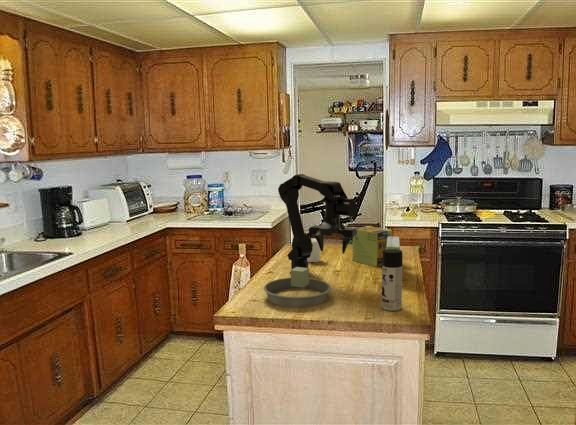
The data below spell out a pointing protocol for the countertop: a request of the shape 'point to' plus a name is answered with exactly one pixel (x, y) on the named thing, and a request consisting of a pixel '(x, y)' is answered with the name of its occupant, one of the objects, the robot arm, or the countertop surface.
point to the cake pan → (288, 301)
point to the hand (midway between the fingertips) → (332, 252)
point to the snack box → (393, 243)
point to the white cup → (314, 252)
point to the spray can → (392, 279)
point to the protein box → (370, 245)
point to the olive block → (300, 277)
